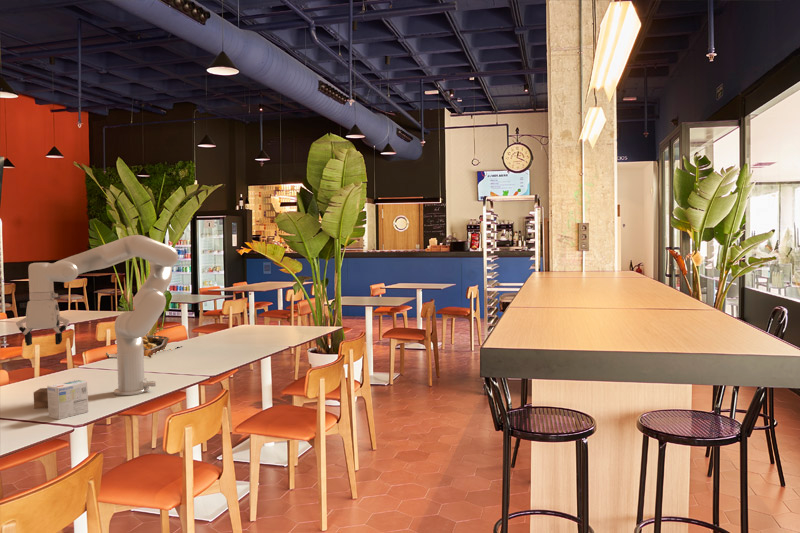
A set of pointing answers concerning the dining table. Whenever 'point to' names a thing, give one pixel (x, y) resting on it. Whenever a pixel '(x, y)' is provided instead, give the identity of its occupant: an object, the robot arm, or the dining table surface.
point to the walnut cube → (41, 398)
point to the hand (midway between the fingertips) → (43, 344)
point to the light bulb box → (67, 399)
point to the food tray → (150, 345)
